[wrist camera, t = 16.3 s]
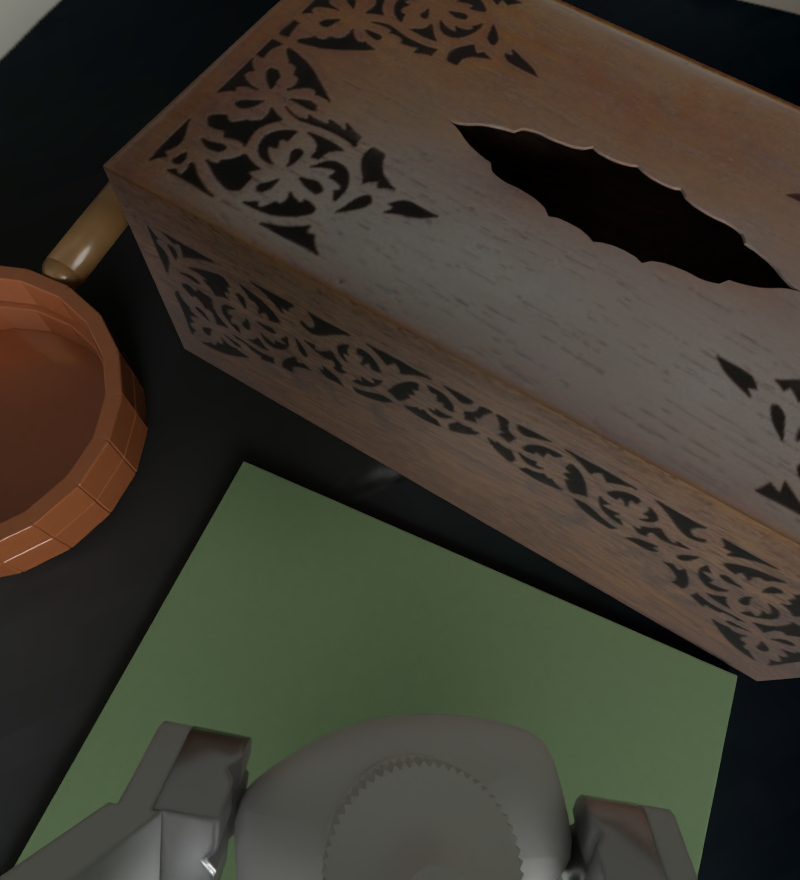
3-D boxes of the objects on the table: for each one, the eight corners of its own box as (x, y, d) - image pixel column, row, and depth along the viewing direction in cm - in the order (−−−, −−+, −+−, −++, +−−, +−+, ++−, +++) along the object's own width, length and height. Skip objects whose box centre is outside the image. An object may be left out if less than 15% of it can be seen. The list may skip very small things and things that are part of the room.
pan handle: (76, 305, 26) (61, 282, 24) (43, 291, 26) (26, 267, 24) (182, 167, 29) (173, 139, 27) (151, 155, 29) (141, 127, 27)
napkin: (608, 1294, 18) (612, 1303, 17) (-32, 953, 19) (-38, 956, 19) (733, 676, 24) (737, 675, 24) (244, 463, 26) (243, 460, 26)
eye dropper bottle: (461, 921, 16) (677, 1338, 5) (254, 836, 17) (62, 1063, 6) (508, 740, 18) (746, 776, 7) (318, 667, 19) (264, 596, 8)
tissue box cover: (184, 348, 28) (102, 165, 18) (364, 139, 33) (370, -85, 24) (756, 680, 24) (1009, 659, 15) (855, 385, 29) (1086, 235, 20)
